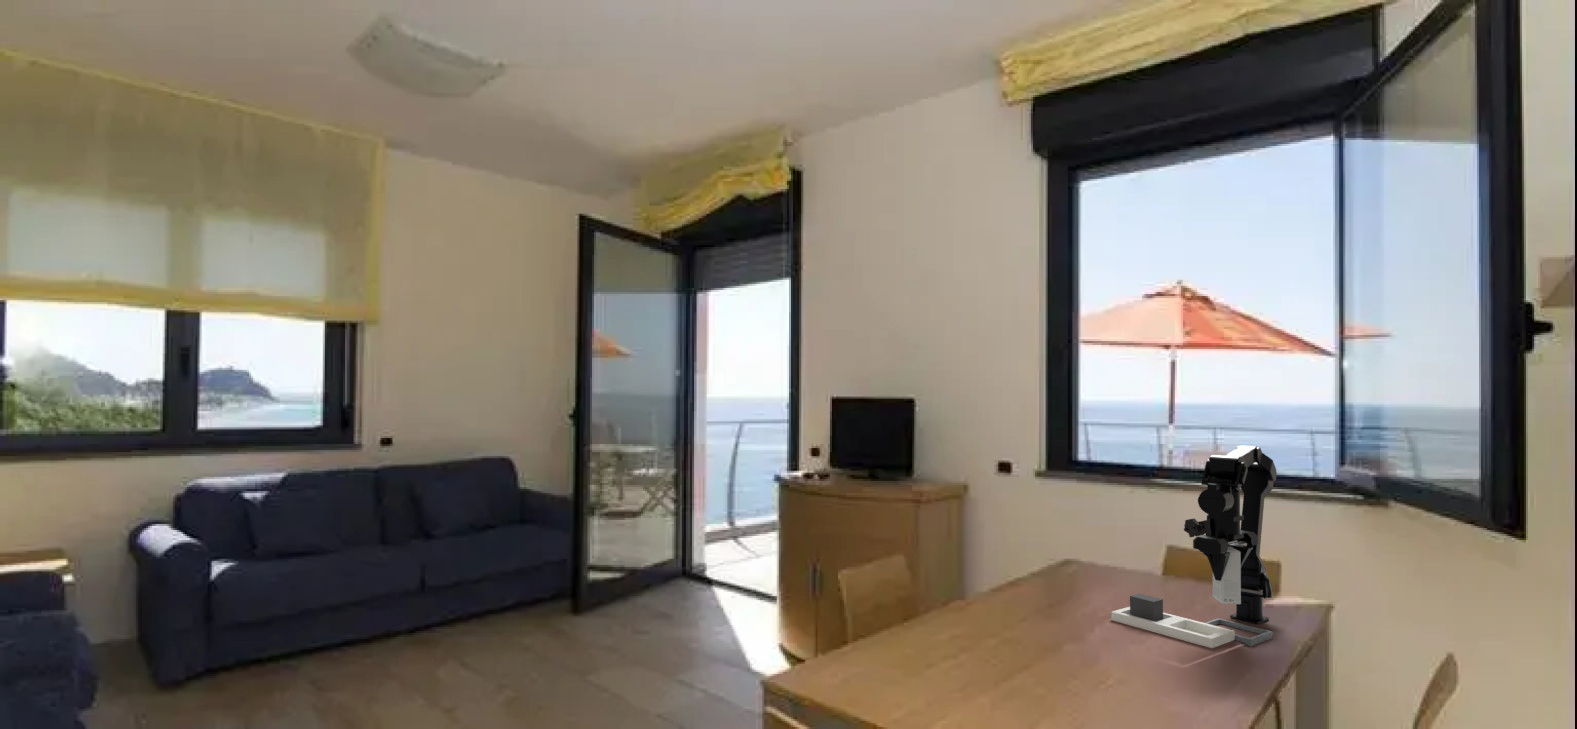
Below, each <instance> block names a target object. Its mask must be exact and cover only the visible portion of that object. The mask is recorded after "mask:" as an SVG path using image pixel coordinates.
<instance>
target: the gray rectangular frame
mask: <svg viewBox="0 0 1577 729" xmlns="http://www.w3.org/2000/svg"><path fill="white" fill-rule="evenodd" d="M1205 623H1206V624H1210V625H1214V626H1218V625H1224V626H1228V627H1231V628H1235V629H1240V630H1244V631H1247V632H1252V633H1255V634H1257V635H1254V636H1252V637H1246V636H1243V635H1242V636H1241V635H1238V634H1235V640H1234V641H1236V642H1237V641H1238V642H1241V644H1242V645H1244V646H1248V647H1253V646H1255V645H1258V644H1261V643H1263V642H1266V641H1268V640H1271V639H1273V631H1272V630H1269V629H1263V628H1259V627H1255V626H1250V625H1247V624H1243V623H1239V622H1235V621H1231V620H1227V619H1222V618H1219V617H1217V618H1215V619H1212V620H1209V621H1207V622H1205ZM1270 638H1271V639H1270ZM1265 640H1266V641H1265Z"/></svg>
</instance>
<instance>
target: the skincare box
mask: <svg viewBox="0 0 1577 729" xmlns="http://www.w3.org/2000/svg"><path fill="white" fill-rule="evenodd" d="M1227 552H1230V556H1229V559H1228V562H1227V565H1226V568H1225V571H1224V574H1223V577H1222V579H1221V581H1218V580H1215V577H1214V574H1213V573H1212V597H1213V598H1214V599H1215V600H1217V601H1218V602H1219V603H1221V604H1223V605H1226V604H1228V605H1231V604H1232V605H1236V604H1241V556H1240V551H1238V550H1236V549H1234V548H1232V547H1228V550H1227Z"/></svg>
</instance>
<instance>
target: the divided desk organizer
mask: <svg viewBox="0 0 1577 729" xmlns="http://www.w3.org/2000/svg"><path fill="white" fill-rule="evenodd" d="M1110 614H1111V621H1113V622H1116V623H1120V624H1124V625H1127V626H1131V627H1134V628H1137V629H1141V630H1145V631H1149V632H1151V633H1152V632H1153V633H1156V634H1160V635H1164V636H1166V637H1170V638H1173V639H1178V640H1181V641H1185V642H1188V643H1191V644H1195V645H1199V646H1203V647H1206V648H1210V649H1214V648H1217V647H1219V646H1221V645H1225V644H1227V643H1230V642H1234V641H1236V640H1235V635H1236V632H1235V629H1234V630H1233V629H1229V628H1226V627H1222V626H1218V625H1215V626H1214V625H1210V624H1206V622H1202V621H1199V620H1194V619H1190V618H1186V617H1182V616H1178V615H1175V614H1170V613H1167V612H1163V620H1160V621H1157V622H1154V621H1151V620H1147V619H1143V618H1139V617H1136V616H1132V615H1130V606H1126V607H1124V608H1123V607H1122V608H1119V609H1116V610H1113V611H1111V612H1110Z"/></svg>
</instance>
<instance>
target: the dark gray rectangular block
mask: <svg viewBox="0 0 1577 729" xmlns="http://www.w3.org/2000/svg"><path fill="white" fill-rule="evenodd" d="M1129 607H1130V615H1132V616H1136V617H1139V618H1143V619H1147V620H1151V621H1154V622H1157V621H1160V620H1163V613H1164V599H1163V598H1159V597H1155V596H1151V595H1147V594H1142V593H1137V594H1132V595H1130V596H1129Z"/></svg>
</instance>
